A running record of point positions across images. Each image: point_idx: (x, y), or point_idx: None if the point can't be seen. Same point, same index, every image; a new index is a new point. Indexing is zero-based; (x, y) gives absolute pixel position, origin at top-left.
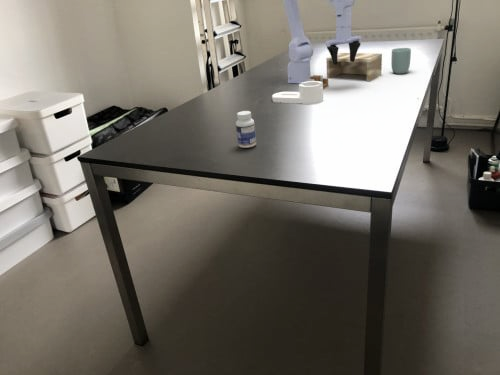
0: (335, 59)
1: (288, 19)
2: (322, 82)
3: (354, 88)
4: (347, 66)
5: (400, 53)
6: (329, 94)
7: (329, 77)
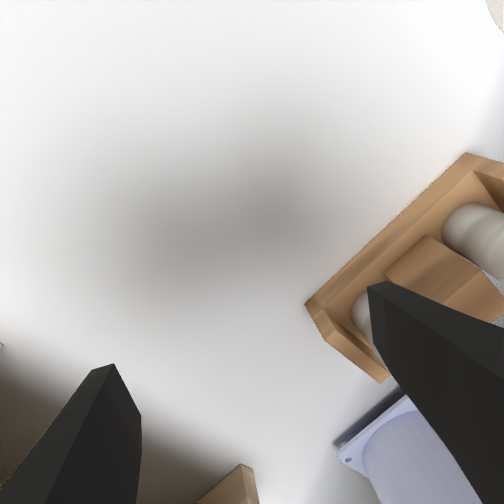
0: (446, 307)
1: None
2: (367, 305)
3: (137, 183)
4: None
5: None
6: (374, 83)
7: (240, 476)
